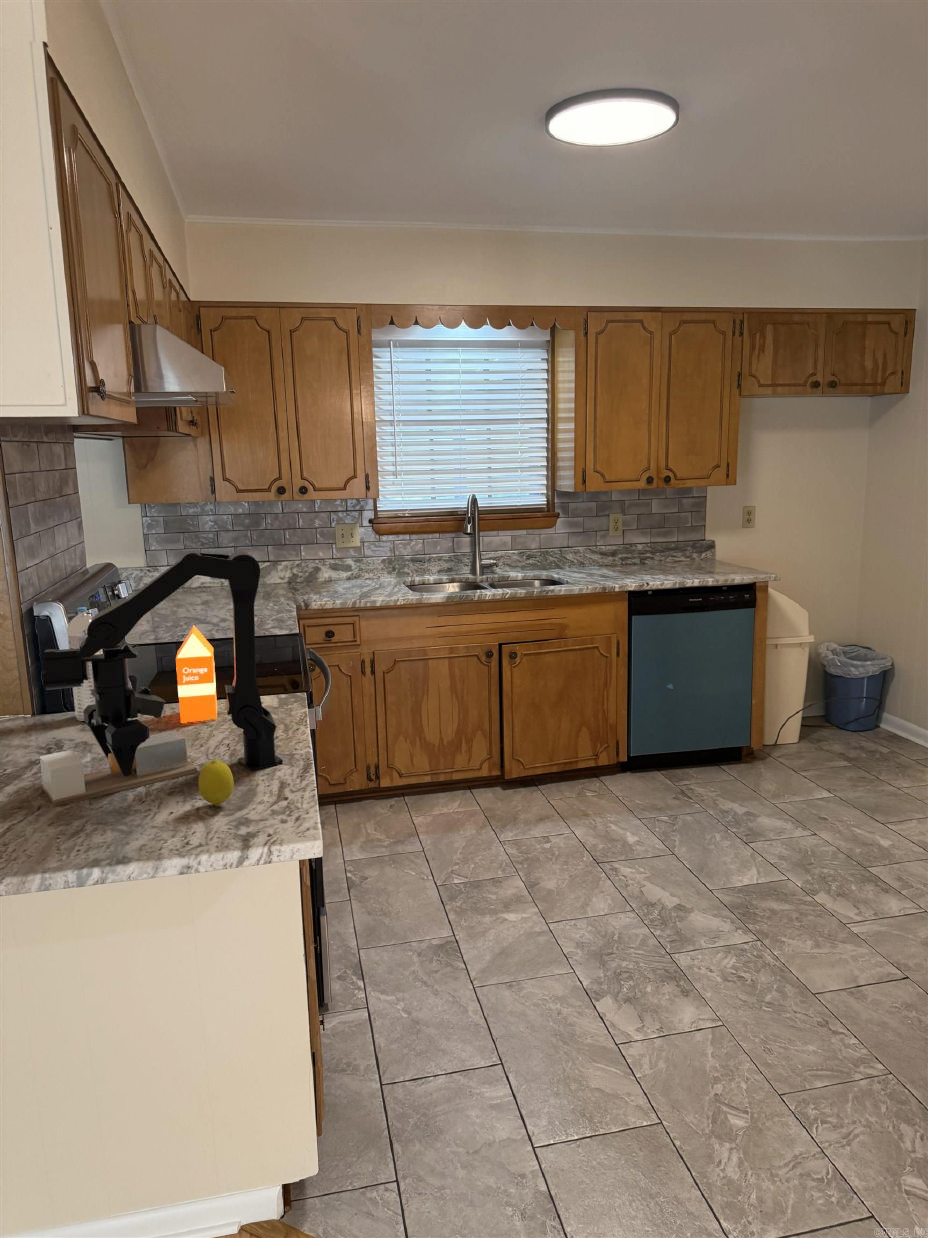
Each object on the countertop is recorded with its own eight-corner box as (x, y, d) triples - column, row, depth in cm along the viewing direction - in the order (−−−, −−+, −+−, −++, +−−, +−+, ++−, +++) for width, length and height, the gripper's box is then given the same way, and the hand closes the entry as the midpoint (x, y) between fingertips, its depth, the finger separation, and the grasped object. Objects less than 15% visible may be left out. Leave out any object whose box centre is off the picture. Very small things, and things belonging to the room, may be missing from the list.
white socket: (85, 792, 142) (82, 762, 141) (53, 800, 139) (50, 769, 138) (73, 778, 148) (70, 750, 147) (42, 785, 145) (39, 756, 144)
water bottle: (101, 723, 182) (90, 610, 177) (70, 723, 182) (58, 610, 177) (114, 713, 189) (104, 605, 184) (84, 713, 189) (73, 605, 184)
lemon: (222, 796, 141) (218, 751, 140) (241, 804, 138) (238, 758, 136) (193, 807, 137) (189, 761, 136) (213, 815, 134) (209, 768, 132)
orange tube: (187, 759, 154) (186, 740, 154) (114, 776, 147) (112, 756, 146) (180, 754, 157) (179, 735, 156) (108, 770, 149) (107, 751, 149)
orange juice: (180, 723, 181) (173, 633, 177) (182, 712, 189) (175, 625, 185) (217, 720, 183) (211, 631, 179) (218, 709, 191) (212, 623, 187)
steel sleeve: (187, 765, 153) (185, 737, 152) (137, 777, 148) (134, 748, 147) (176, 757, 158) (174, 730, 157) (127, 768, 152) (125, 740, 151)
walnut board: (197, 772, 153) (197, 768, 152) (55, 806, 138) (55, 802, 138) (178, 757, 160) (177, 753, 160) (42, 788, 146) (41, 784, 146)
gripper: (175, 686, 143) (182, 772, 146) (141, 666, 158) (148, 744, 161) (108, 698, 137) (117, 788, 140) (78, 676, 151) (87, 758, 154)
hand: (119, 768), depth 149 cm, fingers open, 9 cm apart
